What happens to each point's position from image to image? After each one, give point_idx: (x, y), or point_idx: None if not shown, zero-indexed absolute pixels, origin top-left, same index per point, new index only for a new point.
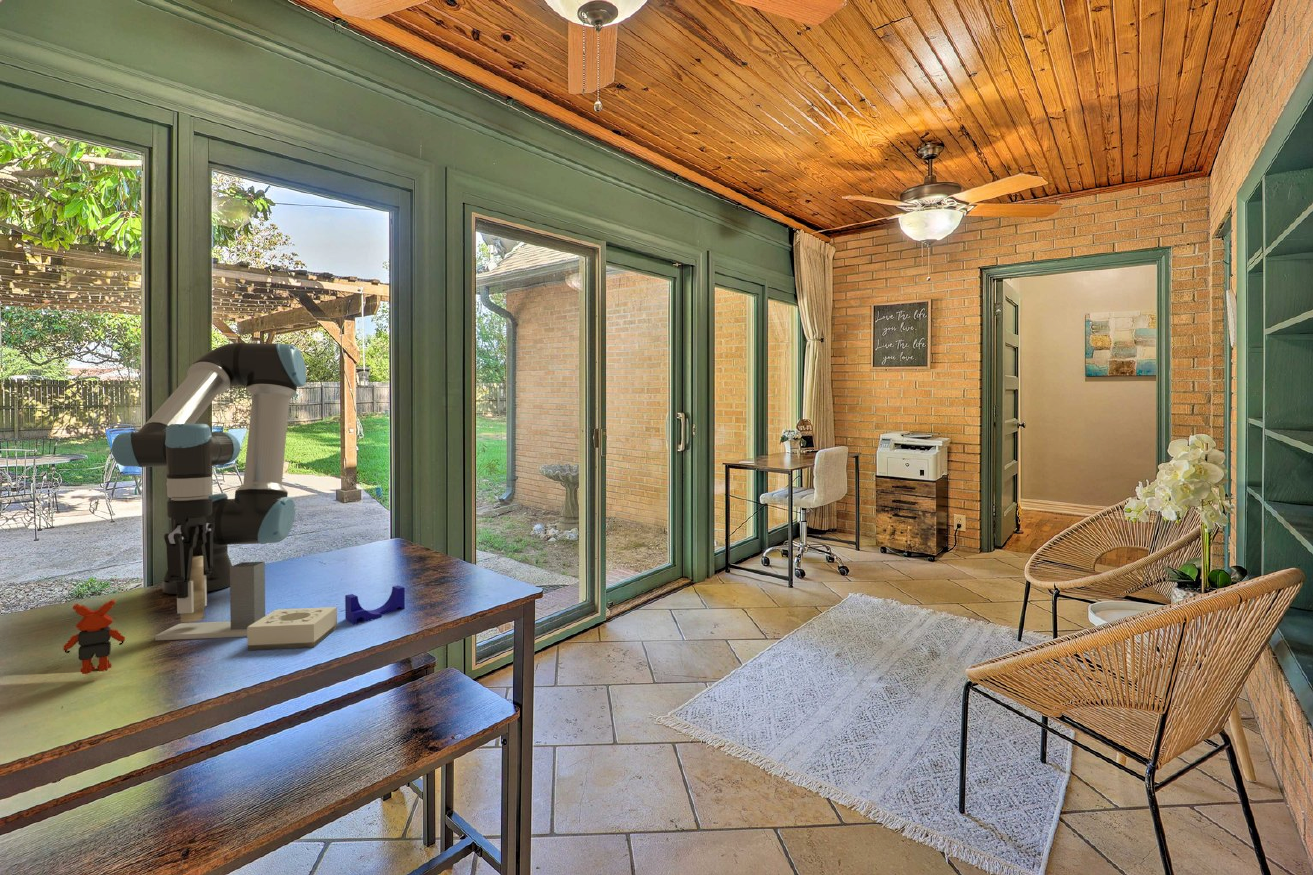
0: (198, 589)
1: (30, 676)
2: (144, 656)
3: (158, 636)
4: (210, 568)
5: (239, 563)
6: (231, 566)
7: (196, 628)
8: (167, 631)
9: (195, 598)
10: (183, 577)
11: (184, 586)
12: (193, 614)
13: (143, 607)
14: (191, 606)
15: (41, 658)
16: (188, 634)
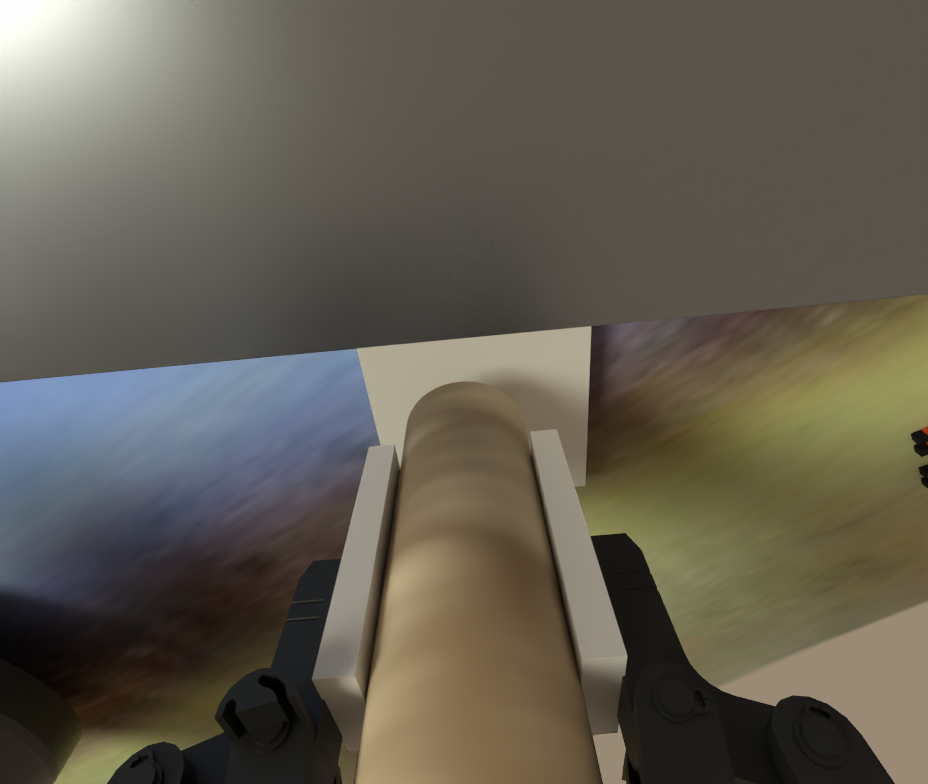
0: (509, 546)
1: (918, 578)
2: (837, 369)
3: (585, 470)
4: (178, 755)
5: (114, 327)
6: (842, 283)
7: (486, 374)
8: None
9: (524, 496)
10: (843, 743)
11: (672, 631)
12: (519, 426)
13: (168, 714)
14: (565, 459)
15: (712, 649)
16: (588, 352)
